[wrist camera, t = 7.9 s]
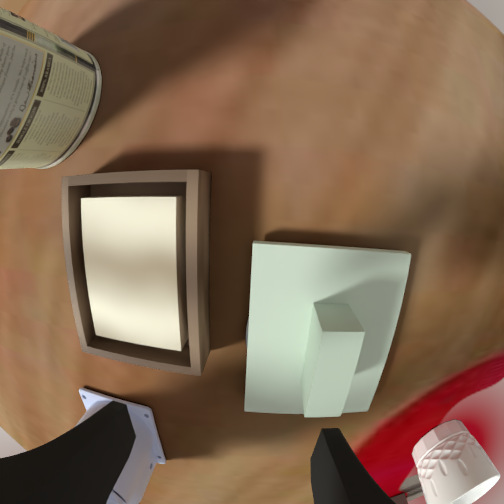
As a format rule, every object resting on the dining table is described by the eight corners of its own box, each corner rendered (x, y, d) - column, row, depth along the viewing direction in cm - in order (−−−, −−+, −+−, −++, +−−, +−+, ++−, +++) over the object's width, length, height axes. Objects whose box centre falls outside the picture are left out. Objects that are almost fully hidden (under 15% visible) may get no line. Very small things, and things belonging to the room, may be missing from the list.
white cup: (397, 465, 22) (418, 528, 12) (422, 423, 20) (457, 495, 10) (448, 450, 21) (474, 503, 12) (475, 407, 19) (513, 463, 10)
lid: (365, 404, 19) (378, 442, 15) (245, 404, 19) (239, 445, 15) (405, 251, 16) (440, 270, 12) (253, 240, 16) (247, 259, 12)
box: (210, 350, 19) (200, 376, 16) (101, 333, 19) (82, 351, 17) (211, 172, 16) (198, 169, 13) (88, 176, 17) (61, 176, 14)
